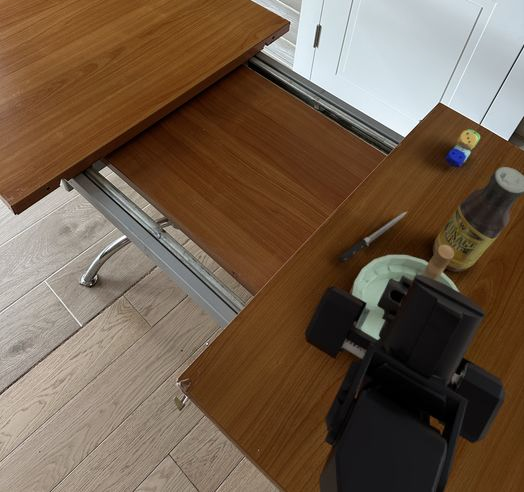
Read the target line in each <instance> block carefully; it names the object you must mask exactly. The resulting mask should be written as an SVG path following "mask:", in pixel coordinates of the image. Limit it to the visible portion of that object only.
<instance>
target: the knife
mask: <svg viewBox="0 0 524 492" xmlns="http://www.w3.org/2000/svg"><path fill="white" fill-rule="evenodd" d="M408 212H409V210H408V211H405V212H402V213H401V214H399V215H398V216H396V217H394V218H393V219H392V220H390V221H389V222H387V223H386V224H385V225H383V226H382V227H381V228H379V229H378V230H377V231H375V232H373V233H372V234H371V235H369V236H367V237H365V238H363V239H362V240H361V241H359V242H358V243H356V244H354V245H353V246H352V247H351V248H349V249H347V250H346V251H345V252H343V253H342V254H341V255H340V256H339V257H338V261H339V262H341V264H344V263H345V262H346V261H347V260H348V259H349V258H351V257H352V256H354V255H355V254H356V253H358V252H359V251H360V250H362V249H363V248H364V247H366V246H367V247H369V246H370V245H369V244H370V243H372V242H374V241H375V240H376V239H377V238H378V237H379V236H381V235H382V234H384V233H385V232H387V230H389V229H390V228H392V227H393V226H394V225H396V223H398V222H399V221H400V220H402V219H403V218H404V217H405V216H406V214H408Z"/></svg>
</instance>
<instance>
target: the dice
mask: <svg viewBox="0 0 524 492" xmlns="http://www.w3.org/2000/svg"><path fill="white" fill-rule="evenodd" d="M480 139H481V135H480V134H479V133H478V132H477V131H475V130H473V129H470V128H469V129H466V130H463V131H462V132H461V133H460V135H459V137H458V138H457V140H456V145H455V146H454V147H453V148H451V150H450V151H449V152H448V153H447V155H446V156H445V161H446V163H447V164H449V166H451V167H453V168H460V167H461V166H462V165H463V164H464V163H465V162H466V161H467V159H468V158H469V157H470V155H471V151H472V150H473V149H474V148H476V146H477V144H478V143H479V141H480Z"/></svg>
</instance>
